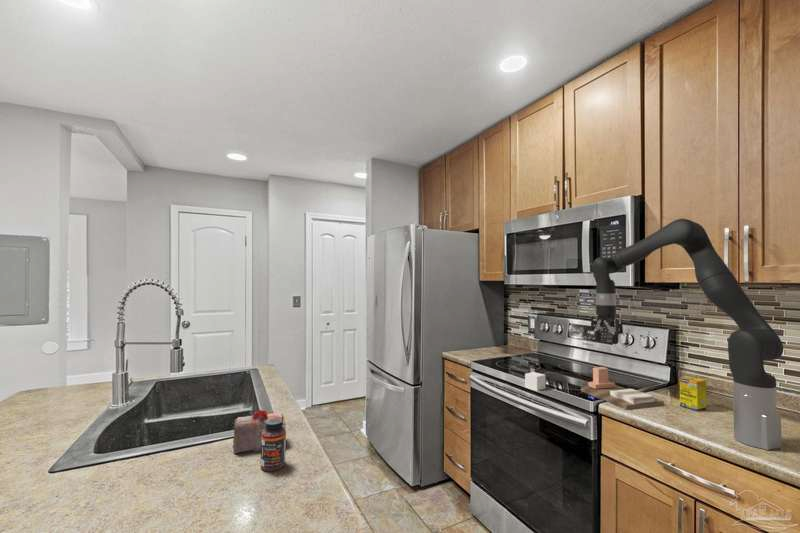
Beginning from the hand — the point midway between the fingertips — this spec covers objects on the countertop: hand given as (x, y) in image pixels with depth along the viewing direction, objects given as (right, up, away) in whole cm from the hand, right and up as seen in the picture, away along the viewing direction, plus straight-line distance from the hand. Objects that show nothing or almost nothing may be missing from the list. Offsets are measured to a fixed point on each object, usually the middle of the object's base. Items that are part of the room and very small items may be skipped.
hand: (606, 342), depth 156 cm
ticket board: (+1, -21, -9) cm, 22 cm away
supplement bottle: (-120, -19, -63) cm, 137 cm away
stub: (-2, -19, 0) cm, 19 cm away
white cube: (-29, -21, +4) cm, 36 cm away
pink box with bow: (-127, -19, -52) cm, 139 cm away
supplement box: (+22, -21, -19) cm, 35 cm away
